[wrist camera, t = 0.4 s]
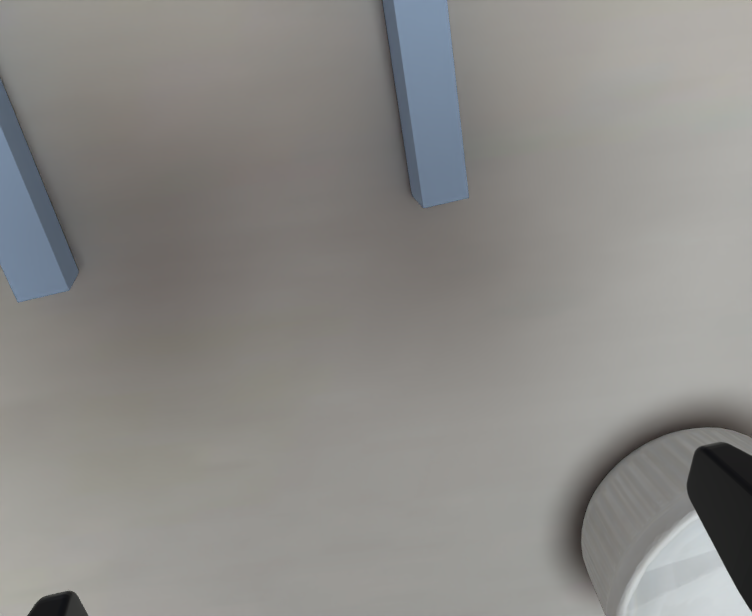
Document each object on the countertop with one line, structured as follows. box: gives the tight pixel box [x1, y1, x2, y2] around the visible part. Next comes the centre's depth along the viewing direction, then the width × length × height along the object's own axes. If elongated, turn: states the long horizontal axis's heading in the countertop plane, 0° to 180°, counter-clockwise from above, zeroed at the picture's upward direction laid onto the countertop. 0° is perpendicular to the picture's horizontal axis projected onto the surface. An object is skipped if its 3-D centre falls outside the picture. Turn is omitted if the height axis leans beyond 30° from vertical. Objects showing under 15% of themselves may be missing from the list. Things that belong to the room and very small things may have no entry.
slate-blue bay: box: [0, 0, 469, 302], centre depth 19 cm, size 12×14×2 cm
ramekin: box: [581, 427, 752, 616], centre depth 29 cm, size 11×11×5 cm
